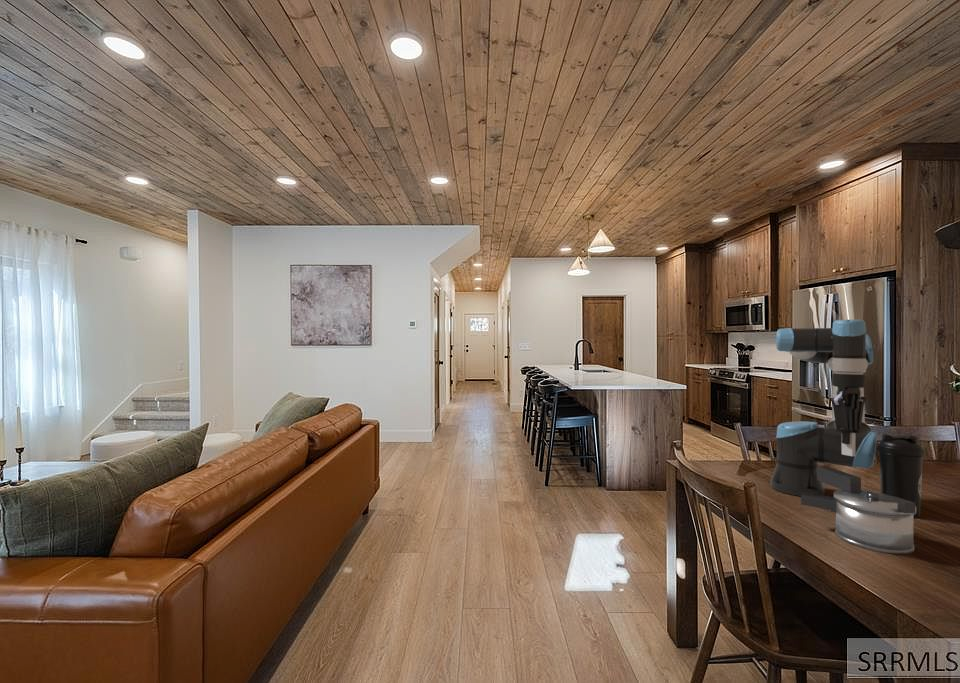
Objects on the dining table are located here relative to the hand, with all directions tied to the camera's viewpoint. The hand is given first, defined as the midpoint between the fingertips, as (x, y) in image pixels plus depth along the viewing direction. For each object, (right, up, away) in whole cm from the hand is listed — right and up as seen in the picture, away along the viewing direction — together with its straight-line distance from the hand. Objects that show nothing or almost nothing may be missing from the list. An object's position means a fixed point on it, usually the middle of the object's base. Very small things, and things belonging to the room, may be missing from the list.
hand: (848, 455), depth 131 cm
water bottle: (+20, -19, +5) cm, 27 cm away
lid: (-6, -9, -11) cm, 15 cm away
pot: (-8, -18, -12) cm, 23 cm away
